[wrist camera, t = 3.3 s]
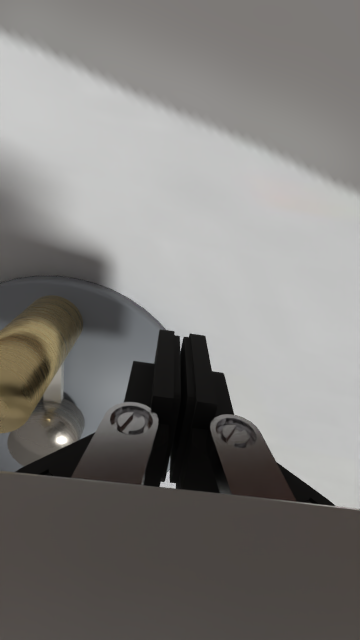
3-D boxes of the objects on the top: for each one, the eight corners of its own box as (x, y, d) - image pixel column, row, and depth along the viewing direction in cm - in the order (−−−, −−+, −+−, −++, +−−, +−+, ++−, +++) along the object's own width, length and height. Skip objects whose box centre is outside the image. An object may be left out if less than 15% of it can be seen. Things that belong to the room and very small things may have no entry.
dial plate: (231, 442, 20) (235, 462, 18) (37, 515, 22) (27, 538, 21) (109, 223, 15) (102, 227, 13) (-127, 348, 17) (-154, 363, 16)
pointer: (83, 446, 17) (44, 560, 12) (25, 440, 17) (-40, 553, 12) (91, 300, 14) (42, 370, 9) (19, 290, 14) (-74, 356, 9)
